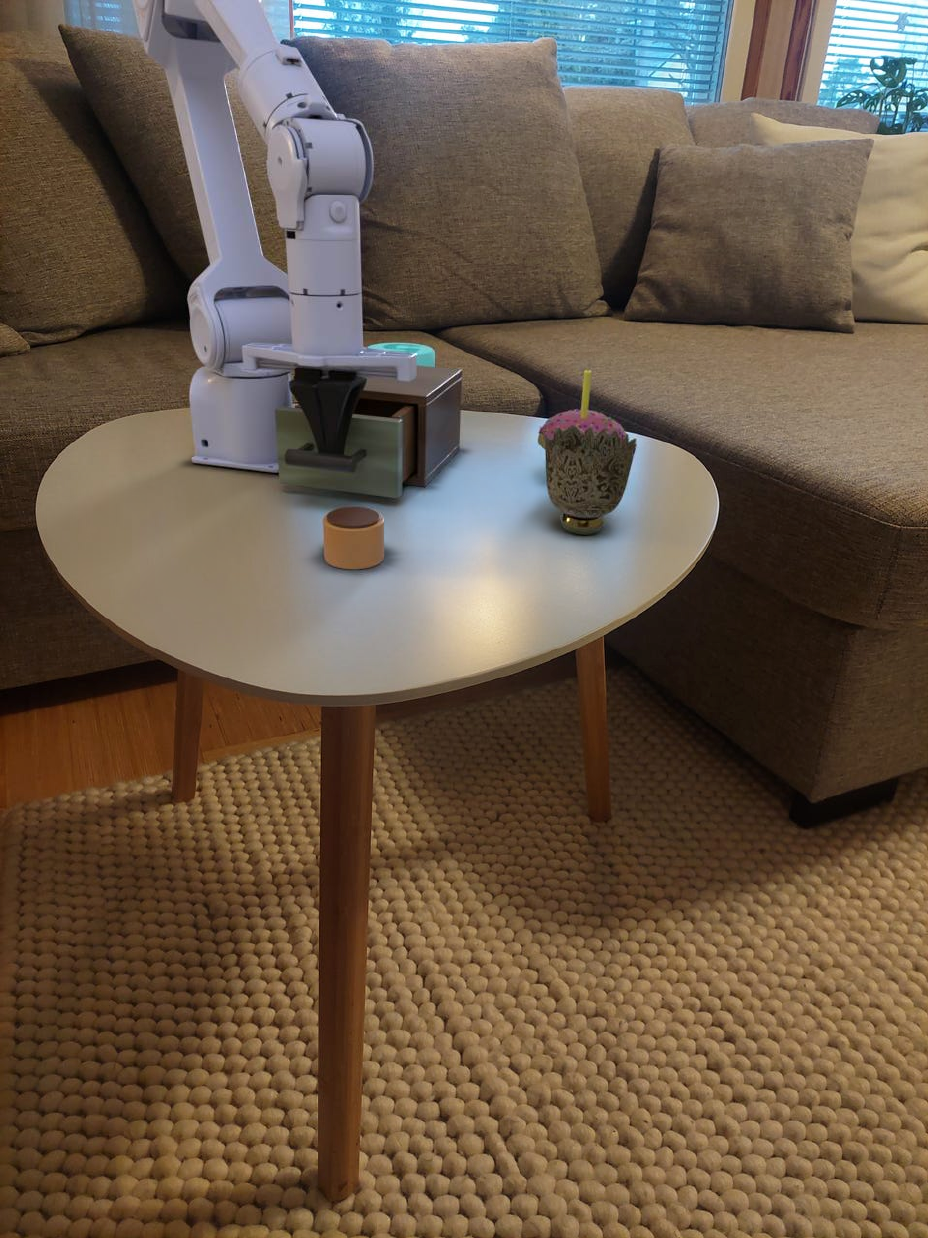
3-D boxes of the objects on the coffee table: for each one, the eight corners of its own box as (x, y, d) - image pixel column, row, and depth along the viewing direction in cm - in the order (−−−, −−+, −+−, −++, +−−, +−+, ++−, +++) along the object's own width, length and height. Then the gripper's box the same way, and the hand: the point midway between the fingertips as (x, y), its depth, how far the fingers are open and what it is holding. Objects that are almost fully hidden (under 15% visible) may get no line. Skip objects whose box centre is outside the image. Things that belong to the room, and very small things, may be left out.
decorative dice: (363, 424, 101) (362, 354, 98) (369, 407, 108) (368, 341, 105) (432, 427, 102) (433, 356, 98) (434, 409, 109) (435, 343, 105)
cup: (602, 553, 70) (614, 456, 66) (522, 532, 73) (529, 439, 70) (638, 526, 76) (650, 435, 72) (561, 507, 79) (570, 420, 75)
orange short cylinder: (314, 565, 66) (312, 522, 65) (338, 542, 70) (336, 502, 69) (372, 573, 65) (371, 530, 64) (392, 550, 69) (392, 509, 68)
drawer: (382, 514, 74) (381, 435, 70) (258, 498, 76) (252, 421, 73) (435, 461, 87) (436, 393, 84) (328, 449, 89) (325, 382, 86)
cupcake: (619, 502, 81) (636, 370, 75) (529, 493, 82) (538, 363, 77) (623, 474, 88) (638, 352, 83) (540, 466, 90) (549, 346, 84)
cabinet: (425, 487, 83) (426, 396, 79) (302, 472, 85) (297, 383, 82) (459, 450, 94) (462, 369, 90) (349, 438, 96) (347, 358, 92)
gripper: (217, 292, 67) (234, 464, 73) (396, 302, 64) (398, 481, 70) (259, 284, 73) (271, 443, 79) (424, 293, 70) (424, 458, 76)
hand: (333, 460), depth 75 cm, fingers closed, pressing on drawer
